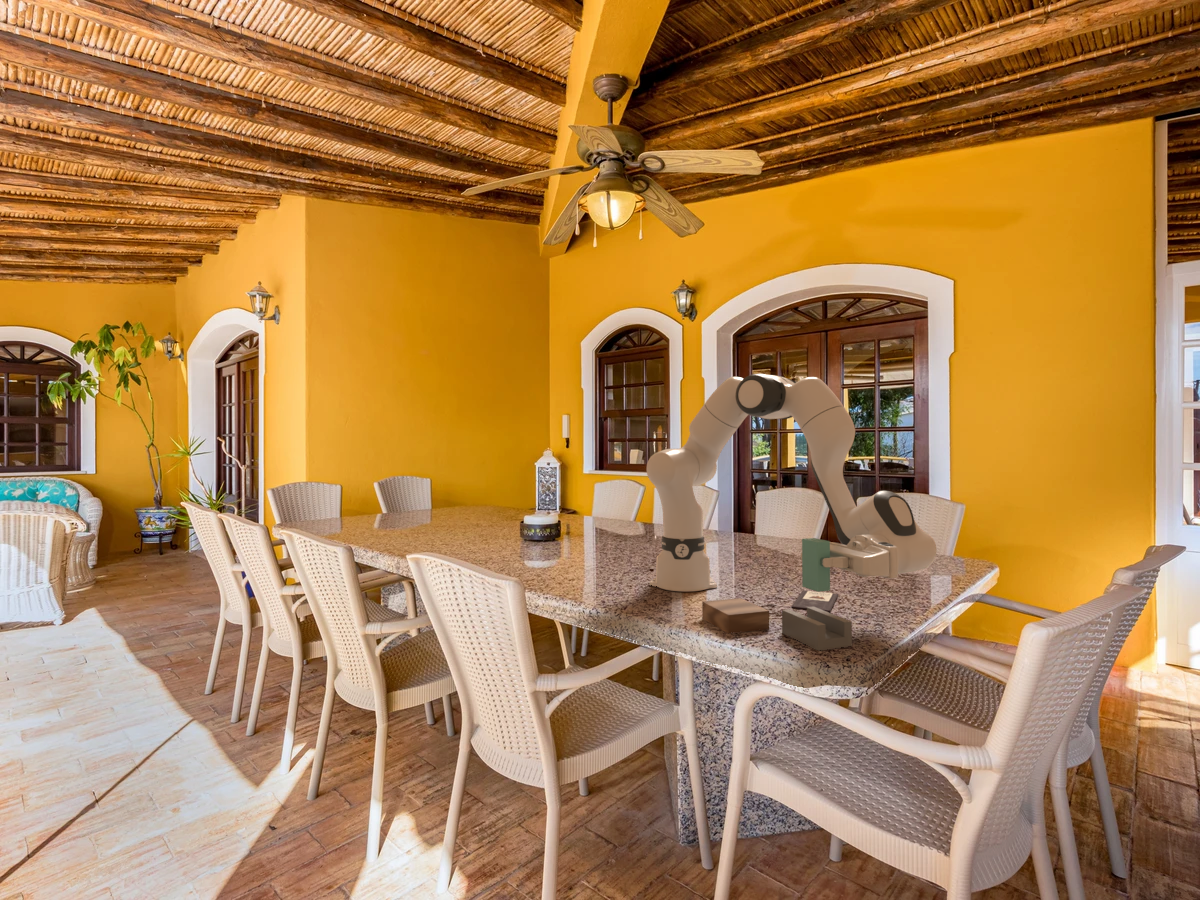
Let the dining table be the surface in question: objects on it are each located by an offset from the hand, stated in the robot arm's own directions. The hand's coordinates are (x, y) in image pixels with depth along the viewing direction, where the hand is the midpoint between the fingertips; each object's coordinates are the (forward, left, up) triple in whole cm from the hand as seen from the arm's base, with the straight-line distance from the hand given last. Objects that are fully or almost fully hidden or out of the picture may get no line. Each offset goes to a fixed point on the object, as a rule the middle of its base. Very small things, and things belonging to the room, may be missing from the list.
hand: (812, 559), depth 130 cm
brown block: (-9, -15, -17) cm, 24 cm away
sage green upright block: (0, +1, -6) cm, 6 cm away
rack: (0, +1, -17) cm, 17 cm away
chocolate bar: (-32, +6, -17) cm, 37 cm away
